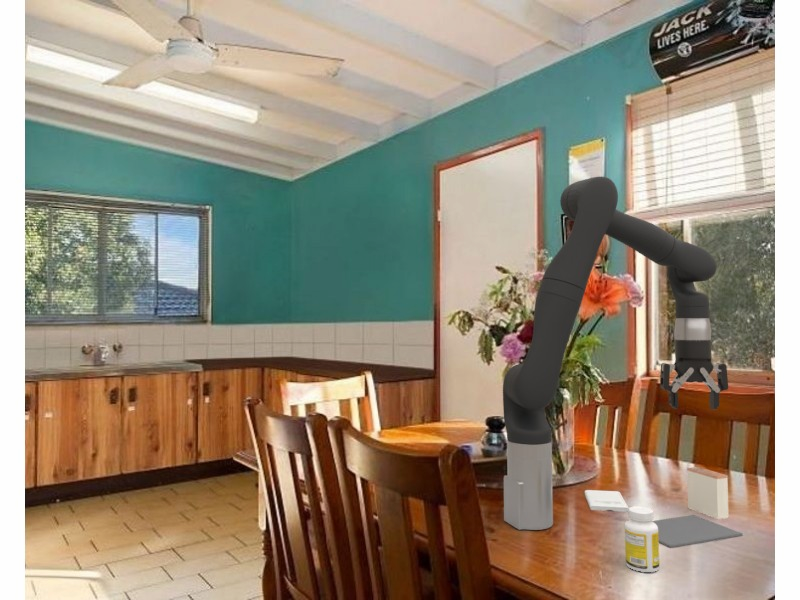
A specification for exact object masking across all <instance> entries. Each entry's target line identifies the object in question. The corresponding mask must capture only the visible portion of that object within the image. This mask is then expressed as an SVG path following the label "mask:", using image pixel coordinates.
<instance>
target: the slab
mask: <svg viewBox="0 0 800 600" xmlns="http://www.w3.org/2000/svg"><path fill="white" fill-rule="evenodd" d="M686 470H687V471H686V473H687V475H686V477H687V478H686V479H687V509H690V510H691V509H692V510H691V511H694V510H695V512H697V511H698V512H697V513H700V512H701V513H700V514H702V513H703V515H705V514H706V515H705V516H708V517H710V516H711V518H713V517H714V519H716V520H722V518H723V519H728V517H729V489H728V488H729V485H728V482H729V481H728V475H727V474H724V473H720V472H718V471H713V470H710V469H708V468H703V467H699V466H692V467H686Z"/></svg>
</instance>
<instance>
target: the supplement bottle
mask: <svg viewBox="0 0 800 600" xmlns="http://www.w3.org/2000/svg"><path fill="white" fill-rule="evenodd" d="M628 508H629V512H628V518H629V519H628V520H626V521H625V523H624V541H625V543H624V545H625V546H624V547H625V548H624V549H625V563H626V566H627V568H628V569H630V568H631V570H632V569H633V570H632V571H635V570H636V571H635V572H638V571H641V572H640V573H644V572H651V573H656V572H658V571H659V570H660V548H659V546H660V545H659V544H660V543H659V538H658V527H657V525H656V524H655V523H654V522H652V521H654V518H655V516H654V511H653V509H652V508H649V507H647V506H646V507H645V506H630V507H628ZM655 571H656V572H655Z"/></svg>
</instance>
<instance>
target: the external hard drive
mask: <svg viewBox="0 0 800 600" xmlns="http://www.w3.org/2000/svg"><path fill="white" fill-rule="evenodd" d="M584 496H585V498H586V501H587V504H588V507H589V510H590V511H600V510H601V511H603V512H605V511H608V512H609V511H610V512H623V513H629V508H630V507H629V506H628V504H627V503H626V501H625V499H624V498H623V496H622V494H621V492H620V491H616V490H597V489H595V490H594V489H593V490H592V489H586V490H584Z"/></svg>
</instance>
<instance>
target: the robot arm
mask: <svg viewBox="0 0 800 600" xmlns="http://www.w3.org/2000/svg"><path fill="white" fill-rule="evenodd" d="M618 198H619V193H618V188H617V185H616V184H615V182H614V181H613V180H612V179H611V178H609V177H606V176H592V177H590V178H586V179H582V180H578V181H575V182H572V183H570V184H569V185H567V186H566V187H565V188H564V190H563V191H562V193H561V195H560V203H559V204H560V208H561V210H562V213H564V216H566V217H567V218H568V219H569V220H570V221H573V224H572V225H573V226H572V227H571V230H570V233H569V235H568V237H567V238H566V240H565V242H564V243H563V245H562V246H561V248H560V249H559V250H558V252H557V253H556V254H555V255H554V257H553V258H552V259H551V261H550V263H549V264H548V265H547V267H546V270H545V271H544V273H543V276H542V278H541V280H540V281H541V282H540V285H539V288H538V291H537V293H536V298H535V302H534V312H533V332H532V338H531V339H532V340H531V342H530V347H529V348H528V352H527V354H526V357H525V359H524V361H523V363H518V364H515V365H513V366H511V367H510V368H509V369H508V370H507V371H506V373H505V376H504V378H503V383H502V404H503V405H502V406H503V423H504V426H505V427H504V428H505V430H506V438H507V439H506V449H507V450H506V451H507V452H506V453H507V454H506V457H507V459H506V462H507V463H506V464H507V466H506V467H507V468H506V469H507V475H506V474H505V475H504V476H503V521H504V522H506V523H507V524H509V525H510V526H512V527H514V528H516V529H517V530H528V531H530V530H531V531H533V530H534V531H538V530H546V529H549V528H551V527H553V526H554V512H553V511H554V509H553V508H554V506H553V503H554V501H553V445H552V444H553V443H552V442H553V441H552V440H553V436H552V428H551V426H550V424H549V423H548V422H549V421H548V420H547V415H546V407H548V406H549V405H550V404H551V403H552V401H554V400H553V399H554V398H555V396H556V393H557V388H558V385H559V380H560V374H561V371H562V366H563V361H564V356H565V353H566V348H567V345H568V343H569V340H570V337H571V334H572V332H573V329H574V326H575V322H576V320H577V316H578V314H579V311H580V308H581V305H582V302H583V299H584V296H585V293H586V290H587V286H588V282H589V279H590V276H591V273H592V270H593V267H594V264H595V262H596V259H597V258H596V257H597V255H598V253H599V249H600V247H601V244H602V241H603V239H604V238H605V236H608V237H610V238H613V240H616V241H618V242H620V243H621V244H624V245H625V246H627V247H629V248H631V249H632V250H633V251H636V252H637V253H639V254H640V255H642V256H643V257H645V258H647V259H648V260H650V261H652V262H653V263H655V264H656V265H659V266H662V267H667V269H666V270H667V271H666V274H667V278H668V281H669V285H670V288H671V291H672V295H673V298H674V301H675V306H674V307H675V322H674V323H675V324H674V335H673V336H674V360H675V361H674V363H673V364H672V363H666V362H662V363H661V364H660V374H659V375H660V377H659V387H660V389H662V390H666V391H667V392H668V404H669V406H670V407H671V408H672V409H673V410H678V409H679V392H678V390H679V389H680V388H681V387H682V386H683V385H684V384H685V383H703V384H704V385H705V386H707V388H708V389H709V394H708V395H709V397H708V398H709V408H710V409H711V410H717V408H719V407H720V393H721V392H723V391H728V390H729V380H728V379H729V378H728V368H727V364H725V363H723V362H722V363H721V362H718V363H712V327H711V322H710V320H711V319H710V299H709V296H708V295H707V294H706V293H704V292H699V291H697V290H696V286H695V284H694V283H696V282H699V283H701V282H705V281H708V280H711V278H713V277H714V275H715V274H716V272H717V270H718V269H717V261H716V259H715V258H714V256H713V255H712V254H711V253H710V252H709V251H707V250H706V249H704V248H702V247H700V246H697V245H695V244H693V243H689V242H687V241H684V240H681V239H678V238H676V236H673V235H672V234H671V233H670V232H667V231H666V230H665V229H663V228H661V227H659V226H658V225H656V224H654V223H652V222H650V221H647V220H644V219H642V218H638V217H635V216H632V215H630V214H626V213H624V212H622V211H620V210H618V209H617V207H618V206H617V205H618V203H619V202H618V201H619V199H618ZM673 370H674V371H675V373H676V375H675V376H674V377H673V379H672V382H671V383H670V375H671V373H672V372H673ZM713 370H714V372H715V373H716V377H717V378H716V379H717V382H716V381H715V380H714V378H713V377H712V376H711V375H710V374H711V373H712V372H713Z"/></svg>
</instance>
